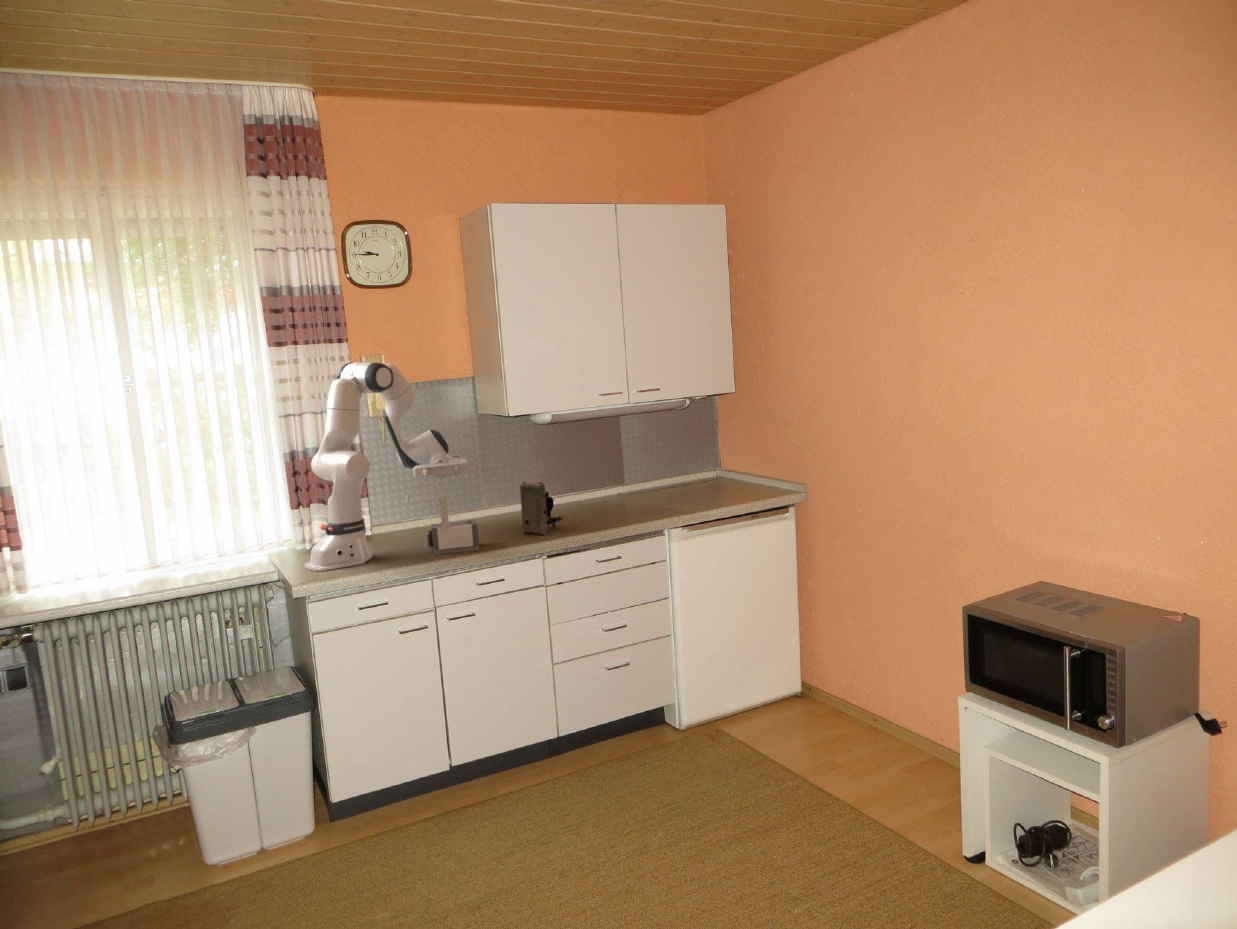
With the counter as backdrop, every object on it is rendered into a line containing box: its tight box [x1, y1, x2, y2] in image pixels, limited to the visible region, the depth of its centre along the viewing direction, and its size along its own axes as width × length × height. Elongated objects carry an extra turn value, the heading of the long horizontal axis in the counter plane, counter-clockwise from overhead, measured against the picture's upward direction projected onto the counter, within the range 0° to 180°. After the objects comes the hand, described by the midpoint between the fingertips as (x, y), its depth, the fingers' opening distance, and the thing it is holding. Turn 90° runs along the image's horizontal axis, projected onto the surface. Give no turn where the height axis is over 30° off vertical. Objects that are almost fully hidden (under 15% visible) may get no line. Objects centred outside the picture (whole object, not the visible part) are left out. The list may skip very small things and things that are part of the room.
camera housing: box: [426, 518, 480, 556], centre depth 321 cm, size 18×10×10 cm, turn 101°
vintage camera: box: [519, 481, 565, 536], centre depth 342 cm, size 10×16×20 cm, turn 149°
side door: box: [437, 494, 473, 550], centre depth 316 cm, size 12×2×19 cm, turn 101°
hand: (441, 471), depth 326 cm, fingers open, 8 cm apart
